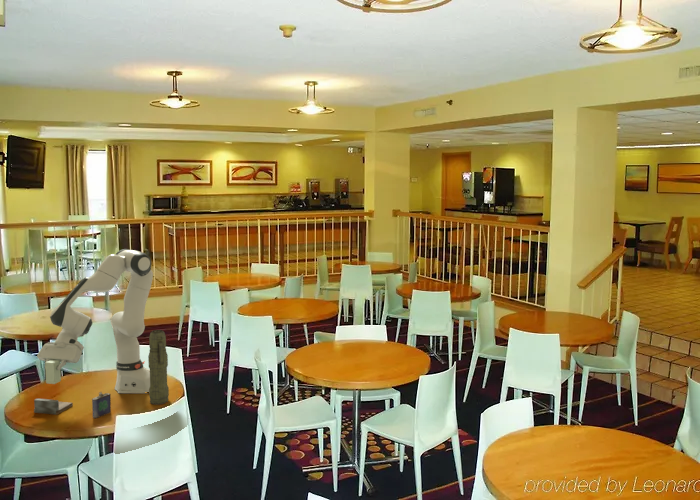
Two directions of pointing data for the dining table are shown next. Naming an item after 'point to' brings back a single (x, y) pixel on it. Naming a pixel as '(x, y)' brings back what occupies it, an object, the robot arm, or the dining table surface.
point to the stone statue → (158, 368)
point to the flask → (101, 405)
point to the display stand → (50, 406)
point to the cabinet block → (52, 372)
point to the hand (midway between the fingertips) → (52, 369)
